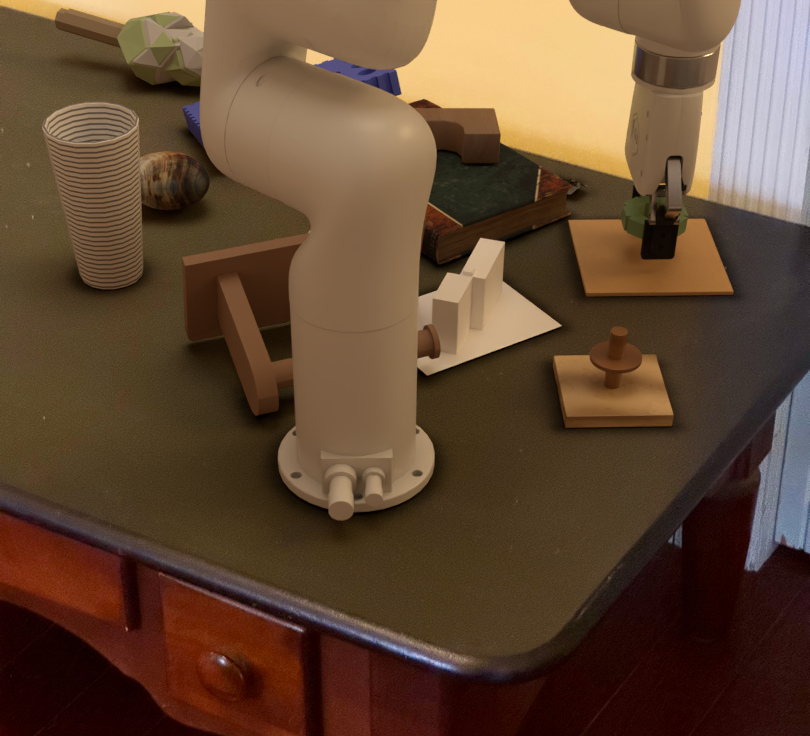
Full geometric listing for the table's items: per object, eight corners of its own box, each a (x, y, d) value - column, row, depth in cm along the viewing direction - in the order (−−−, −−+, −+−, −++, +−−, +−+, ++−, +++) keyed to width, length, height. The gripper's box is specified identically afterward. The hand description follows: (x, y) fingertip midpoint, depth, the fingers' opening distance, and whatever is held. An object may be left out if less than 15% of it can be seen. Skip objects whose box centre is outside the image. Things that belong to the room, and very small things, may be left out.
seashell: (154, 198, 153) (107, 213, 146) (149, 142, 150) (100, 156, 144) (229, 204, 149) (184, 221, 142) (225, 148, 146) (178, 162, 140)
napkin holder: (489, 271, 139) (492, 217, 135) (563, 325, 132) (568, 270, 128) (358, 317, 133) (357, 262, 129) (428, 376, 126) (430, 320, 122)
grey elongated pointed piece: (574, 199, 149) (589, 208, 152) (582, 177, 149) (597, 187, 151) (530, 189, 153) (545, 198, 155) (537, 168, 153) (553, 178, 155)
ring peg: (671, 426, 121) (682, 360, 117) (565, 428, 121) (572, 362, 116) (653, 365, 128) (663, 301, 123) (552, 366, 127) (558, 302, 123)
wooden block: (492, 137, 153) (351, 137, 152) (494, 107, 151) (350, 107, 150) (499, 163, 148) (352, 164, 147) (501, 133, 146) (352, 133, 145)
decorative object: (86, 35, 178) (264, 88, 172) (40, 68, 172) (224, 124, 166) (78, -35, 172) (264, 18, 166) (31, -3, 166) (222, 53, 159)
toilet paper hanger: (226, 453, 123) (226, 381, 114) (185, 334, 129) (181, 257, 120) (460, 399, 128) (477, 327, 120) (410, 287, 134) (422, 211, 126)
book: (572, 217, 147) (425, 127, 162) (575, 184, 145) (426, 96, 160) (436, 267, 140) (295, 168, 155) (437, 234, 137) (294, 137, 152)
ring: (689, 240, 137) (692, 225, 136) (627, 241, 137) (629, 226, 136) (678, 209, 142) (680, 194, 141) (617, 210, 142) (619, 195, 141)
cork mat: (733, 294, 137) (733, 291, 136) (586, 296, 136) (586, 293, 136) (704, 221, 147) (704, 218, 147) (567, 223, 147) (568, 219, 146)
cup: (83, 247, 142) (60, 97, 132) (167, 255, 141) (150, 104, 131) (54, 293, 136) (27, 139, 125) (142, 301, 135) (122, 146, 124)
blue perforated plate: (323, 39, 170) (328, 61, 172) (144, 110, 162) (151, 132, 163) (439, 66, 151) (444, 90, 153) (243, 147, 143) (250, 172, 144)
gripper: (618, 23, 135) (600, 197, 147) (649, 104, 122) (626, 288, 134) (698, 22, 135) (673, 196, 147) (737, 103, 122) (706, 286, 134)
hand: (651, 238), depth 141 cm, fingers closed on ring, 6 cm apart
